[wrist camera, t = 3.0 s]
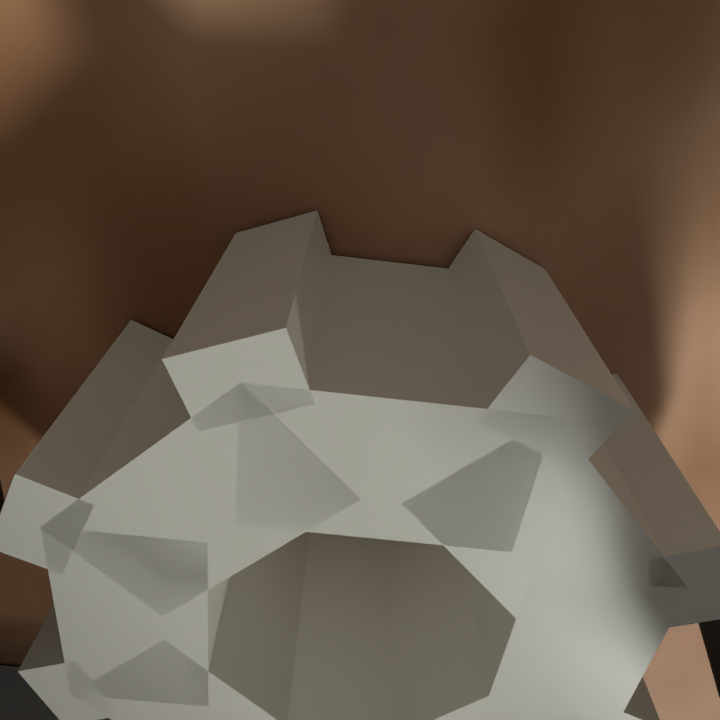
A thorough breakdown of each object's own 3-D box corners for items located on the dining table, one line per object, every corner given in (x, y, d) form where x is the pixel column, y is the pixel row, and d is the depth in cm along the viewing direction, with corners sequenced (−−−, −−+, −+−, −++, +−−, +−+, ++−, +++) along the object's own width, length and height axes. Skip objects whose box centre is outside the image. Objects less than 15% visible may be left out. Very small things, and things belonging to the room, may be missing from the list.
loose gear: (692, 254, 7) (863, 392, 5) (541, 641, 11) (594, 843, 8) (87, 182, 7) (-75, 287, 5) (128, 603, 11) (48, 799, 8)
